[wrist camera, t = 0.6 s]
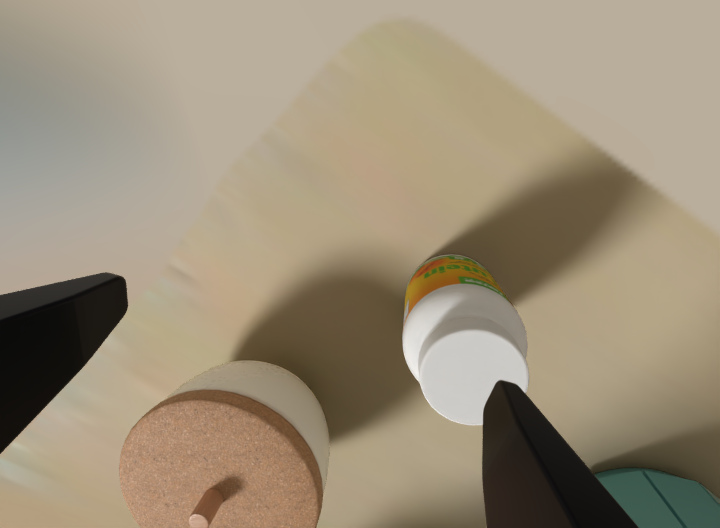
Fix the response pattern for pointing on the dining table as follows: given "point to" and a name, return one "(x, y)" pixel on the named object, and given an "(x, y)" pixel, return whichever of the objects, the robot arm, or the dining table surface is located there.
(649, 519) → the bowl
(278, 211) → the dining table surface
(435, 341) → the supplement bottle
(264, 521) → the lidded jar
